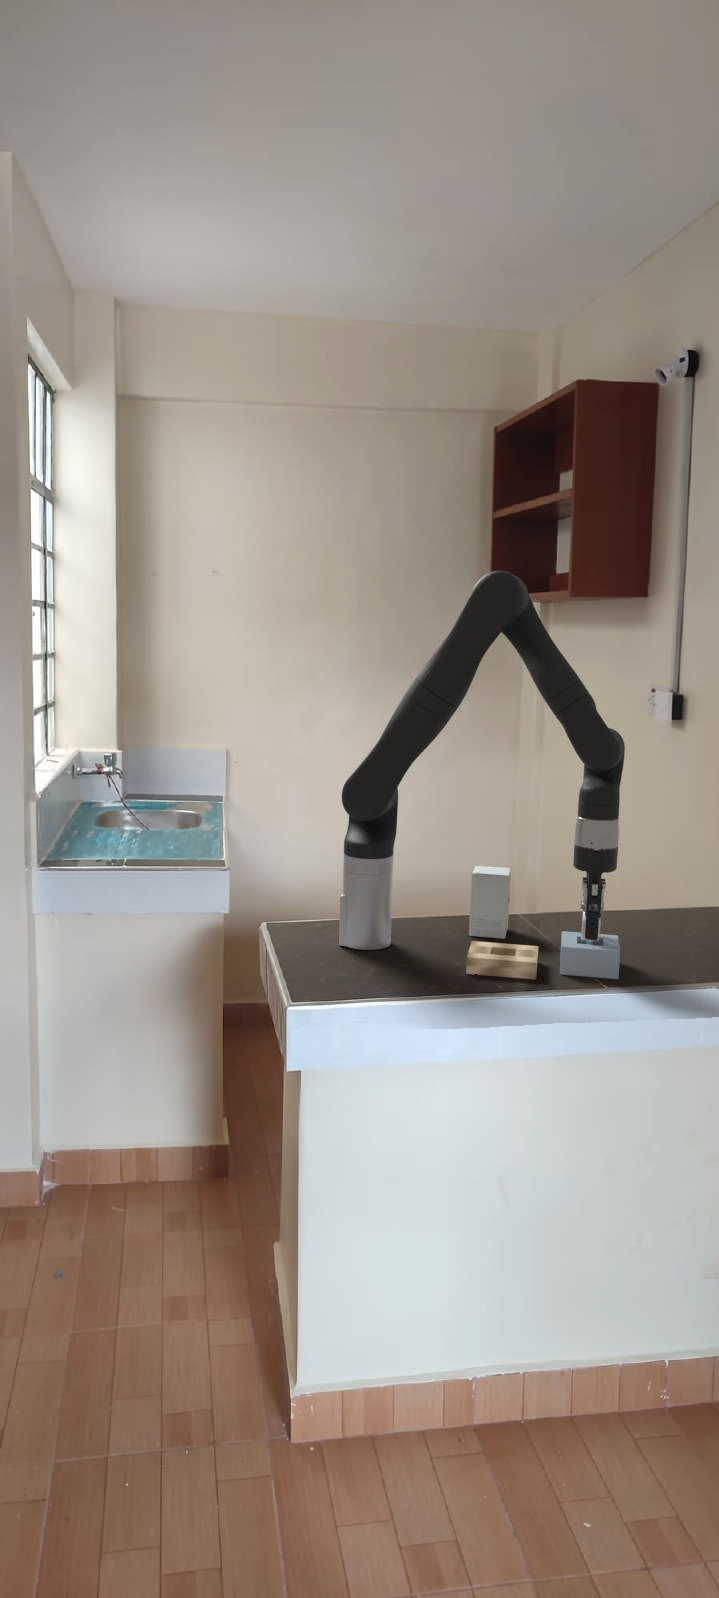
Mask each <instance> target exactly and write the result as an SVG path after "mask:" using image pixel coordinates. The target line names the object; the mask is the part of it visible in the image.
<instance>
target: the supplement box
mask: <svg viewBox="0 0 719 1598" xmlns="http://www.w3.org/2000/svg"><path fill="white" fill-rule="evenodd" d="M511 878H512V868H511V867H502V866H487V865H486V866H484V865H483V866H482V865H475V866H474V867H473V870H472V873H471V884H470V904H469V926H468V936H470V937H480V938H493V939H503V940H504V939H506V936H507V932H508V929H509V916H510V898H511V897H510V896H511Z"/></svg>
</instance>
